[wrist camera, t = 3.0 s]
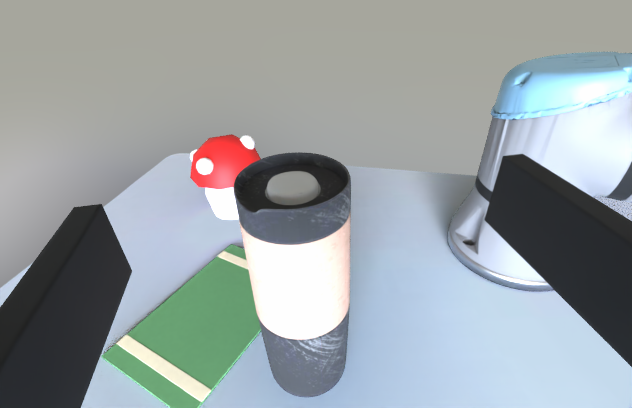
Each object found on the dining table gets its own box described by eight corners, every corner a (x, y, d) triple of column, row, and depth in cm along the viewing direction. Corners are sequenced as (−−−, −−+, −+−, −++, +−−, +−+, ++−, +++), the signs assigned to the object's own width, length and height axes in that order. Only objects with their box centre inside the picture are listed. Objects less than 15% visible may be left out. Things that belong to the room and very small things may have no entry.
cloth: (231, 245, 47) (231, 243, 47) (305, 274, 42) (305, 273, 42) (102, 357, 34) (101, 355, 34) (188, 421, 29) (187, 419, 29)
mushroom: (191, 228, 51) (169, 155, 44) (210, 190, 60) (194, 124, 53) (263, 226, 51) (251, 151, 44) (271, 188, 60) (262, 121, 53)
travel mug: (345, 325, 36) (347, 149, 25) (351, 400, 30) (358, 209, 19) (272, 327, 36) (242, 153, 25) (263, 402, 30) (218, 213, 19)
